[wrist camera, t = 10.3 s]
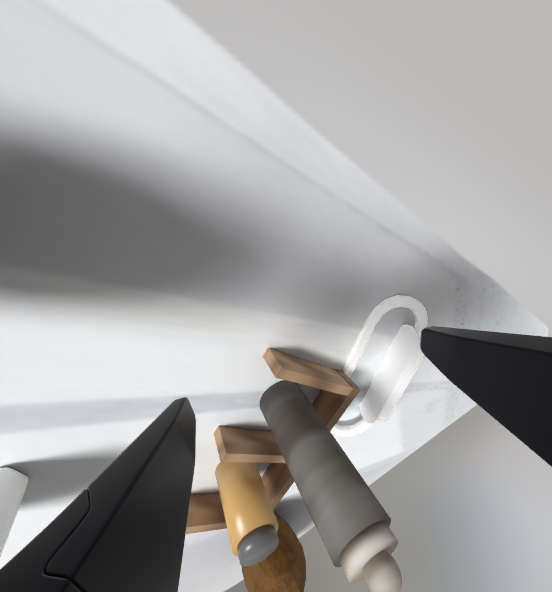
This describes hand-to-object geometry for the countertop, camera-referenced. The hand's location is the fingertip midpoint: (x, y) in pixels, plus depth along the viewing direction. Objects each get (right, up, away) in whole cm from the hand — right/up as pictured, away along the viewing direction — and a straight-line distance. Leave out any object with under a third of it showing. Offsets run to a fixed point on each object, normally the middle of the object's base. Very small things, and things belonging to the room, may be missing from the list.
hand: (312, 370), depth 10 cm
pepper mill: (-1, -8, +18) cm, 20 cm away
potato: (-3, -30, +28) cm, 42 cm away
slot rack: (-3, -12, +19) cm, 23 cm away
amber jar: (-6, -16, +20) cm, 26 cm away
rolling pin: (+10, -6, +23) cm, 26 cm away
